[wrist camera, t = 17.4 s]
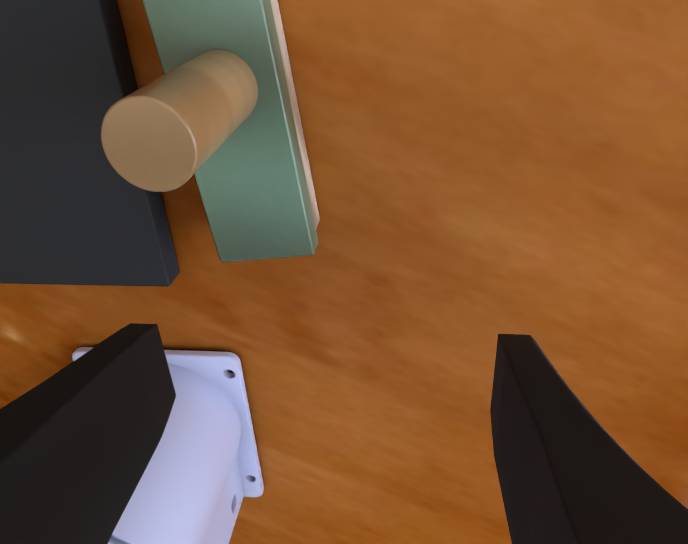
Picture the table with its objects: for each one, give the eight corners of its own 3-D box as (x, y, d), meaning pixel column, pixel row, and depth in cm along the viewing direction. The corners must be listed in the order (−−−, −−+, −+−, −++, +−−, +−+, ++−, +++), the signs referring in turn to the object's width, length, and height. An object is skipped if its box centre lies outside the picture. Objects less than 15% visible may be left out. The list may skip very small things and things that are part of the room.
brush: (325, 224, 22) (280, 356, 15) (239, 232, 23) (159, 362, 16) (253, -158, 16) (128, -220, 9) (139, -133, 17) (-55, -175, 10)
